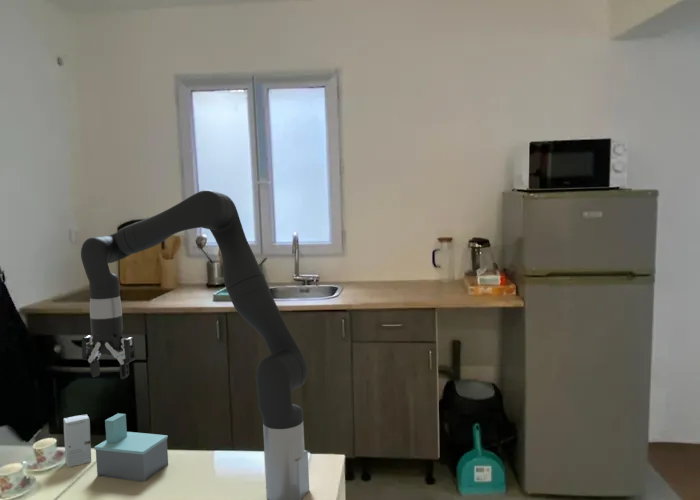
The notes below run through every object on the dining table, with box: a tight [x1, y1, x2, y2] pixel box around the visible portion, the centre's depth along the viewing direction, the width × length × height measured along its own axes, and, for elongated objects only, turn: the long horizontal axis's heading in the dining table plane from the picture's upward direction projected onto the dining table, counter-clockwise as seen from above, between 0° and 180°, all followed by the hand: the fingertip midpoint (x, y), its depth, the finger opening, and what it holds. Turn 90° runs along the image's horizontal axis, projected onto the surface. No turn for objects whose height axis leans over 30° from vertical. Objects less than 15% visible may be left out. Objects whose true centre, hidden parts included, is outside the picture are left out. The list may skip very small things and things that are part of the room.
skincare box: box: [63, 413, 92, 468], centre depth 156 cm, size 6×4×12 cm
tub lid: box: [94, 412, 169, 455], centre depth 149 cm, size 14×10×8 cm
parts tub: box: [95, 438, 169, 483], centre depth 150 cm, size 14×10×7 cm
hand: (110, 377), depth 148 cm, fingers open, 8 cm apart
